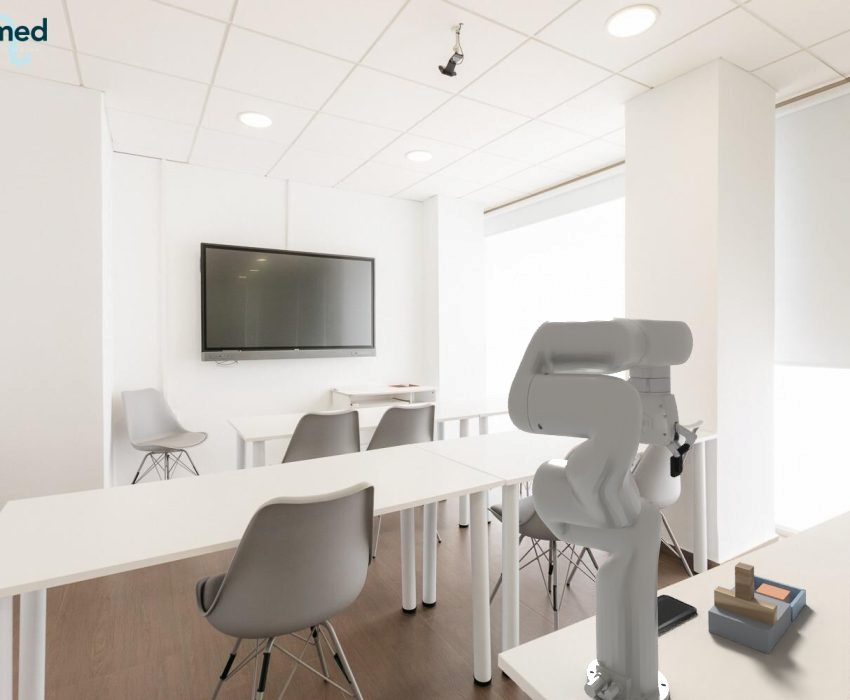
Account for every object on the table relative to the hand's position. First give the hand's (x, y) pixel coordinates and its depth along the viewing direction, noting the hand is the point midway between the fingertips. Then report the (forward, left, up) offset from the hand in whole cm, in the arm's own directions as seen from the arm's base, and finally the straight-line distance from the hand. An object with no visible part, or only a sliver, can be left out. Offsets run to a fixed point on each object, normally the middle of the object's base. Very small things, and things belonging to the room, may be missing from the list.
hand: (651, 471), depth 103 cm
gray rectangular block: (+11, -14, -30) cm, 35 cm away
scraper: (+8, -14, -26) cm, 31 cm away
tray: (+24, -14, -30) cm, 41 cm away
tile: (+25, -14, -28) cm, 40 cm away
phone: (+3, 0, -31) cm, 31 cm away
